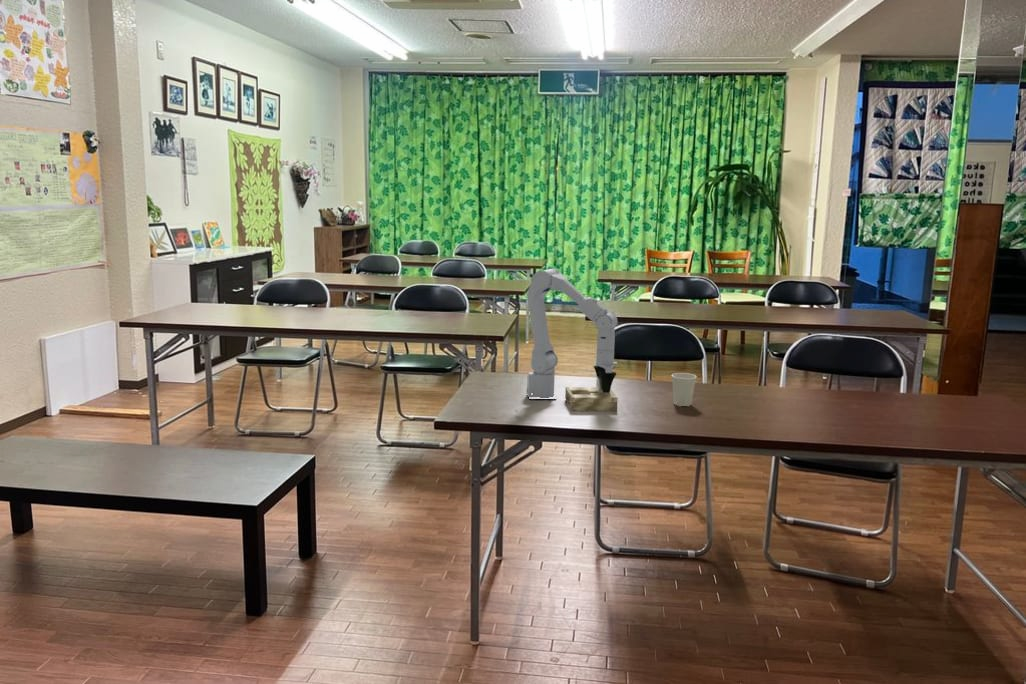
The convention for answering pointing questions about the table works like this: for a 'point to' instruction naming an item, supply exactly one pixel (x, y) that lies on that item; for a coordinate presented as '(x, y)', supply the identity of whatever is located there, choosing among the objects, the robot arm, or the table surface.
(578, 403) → the keyhole plate
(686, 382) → the dixie cup
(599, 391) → the headed peg
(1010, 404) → the table surface
